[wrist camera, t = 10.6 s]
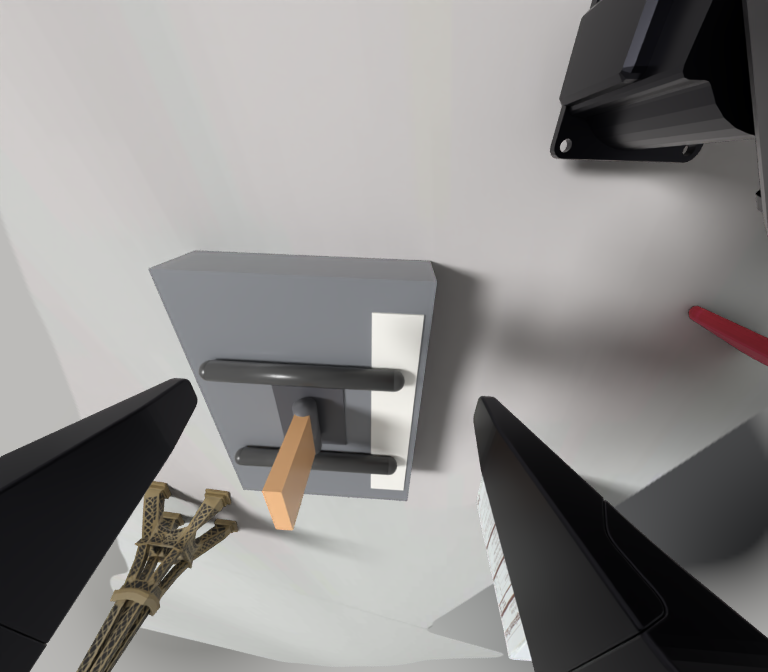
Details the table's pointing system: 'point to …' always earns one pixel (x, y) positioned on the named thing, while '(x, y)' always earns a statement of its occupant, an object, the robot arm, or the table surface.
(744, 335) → the smartphone
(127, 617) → the eiffel tower
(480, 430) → the robot arm
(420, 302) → the breaker panel
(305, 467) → the breaker lever
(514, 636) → the supplement box
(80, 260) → the table surface
